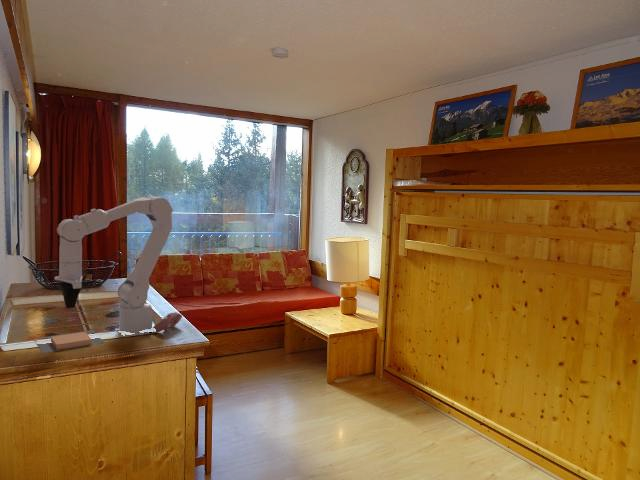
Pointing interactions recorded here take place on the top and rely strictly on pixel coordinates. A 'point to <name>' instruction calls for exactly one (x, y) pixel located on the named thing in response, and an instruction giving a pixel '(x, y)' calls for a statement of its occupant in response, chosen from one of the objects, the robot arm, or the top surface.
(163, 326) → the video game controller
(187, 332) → the top surface
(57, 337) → the tile
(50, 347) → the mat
